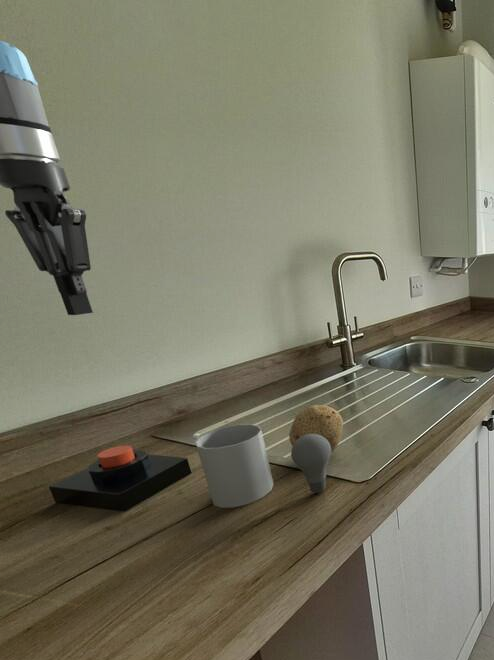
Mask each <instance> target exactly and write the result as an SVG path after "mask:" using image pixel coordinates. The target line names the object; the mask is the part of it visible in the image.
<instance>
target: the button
mask: <svg viewBox="0 0 494 660" xmlns="http://www.w3.org/2000/svg"><path fill="white" fill-rule="evenodd" d="M133 450H134V449H133V447H132V446H131V445H118V446H114V447H110V448H108V449H105V450H103V451H101V452H99V453H98V454H97V460H99V462H100V464H101V467H102V468H109V467H116V466H119V465H123V464H126V463H128V462H130V461H132V460H134V459H135V456H134V453H133Z"/></svg>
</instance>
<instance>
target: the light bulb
mask: <svg viewBox="0 0 494 660" xmlns="http://www.w3.org/2000/svg"><path fill="white" fill-rule="evenodd" d="M290 451H291V452H290V456H291V457H290V458H291V460H292V462H293V463H294V465H295V466H296V467H297V468H298V469H299V470H301V471H302V473H303V475H304V478H305V480H306V482H307V483H308V486H309V490H310V492H311V493H314V494H321V493H322V492H323V491H325V490H326V488H327V482H326V478H327V466H328V463H329V461H330V458H331V455H332V453H331V446H330V443H329V442H328V440H327V439H325V438H324V437H323V436H321V435H317V434H308V435H304V436H302V437H300V438H299V439H298V440H297V441H296V442H295V443H294V445H292V447H291V449H290Z"/></svg>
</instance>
